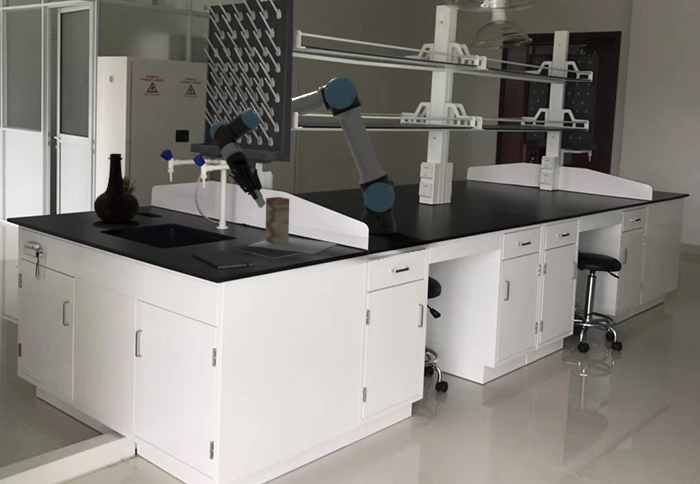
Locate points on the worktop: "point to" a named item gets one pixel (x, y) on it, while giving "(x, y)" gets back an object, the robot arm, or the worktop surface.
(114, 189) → the glass bottle
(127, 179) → the house plant
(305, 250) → the grey mat
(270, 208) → the birch block
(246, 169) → the robot arm
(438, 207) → the worktop surface
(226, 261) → the notebook
